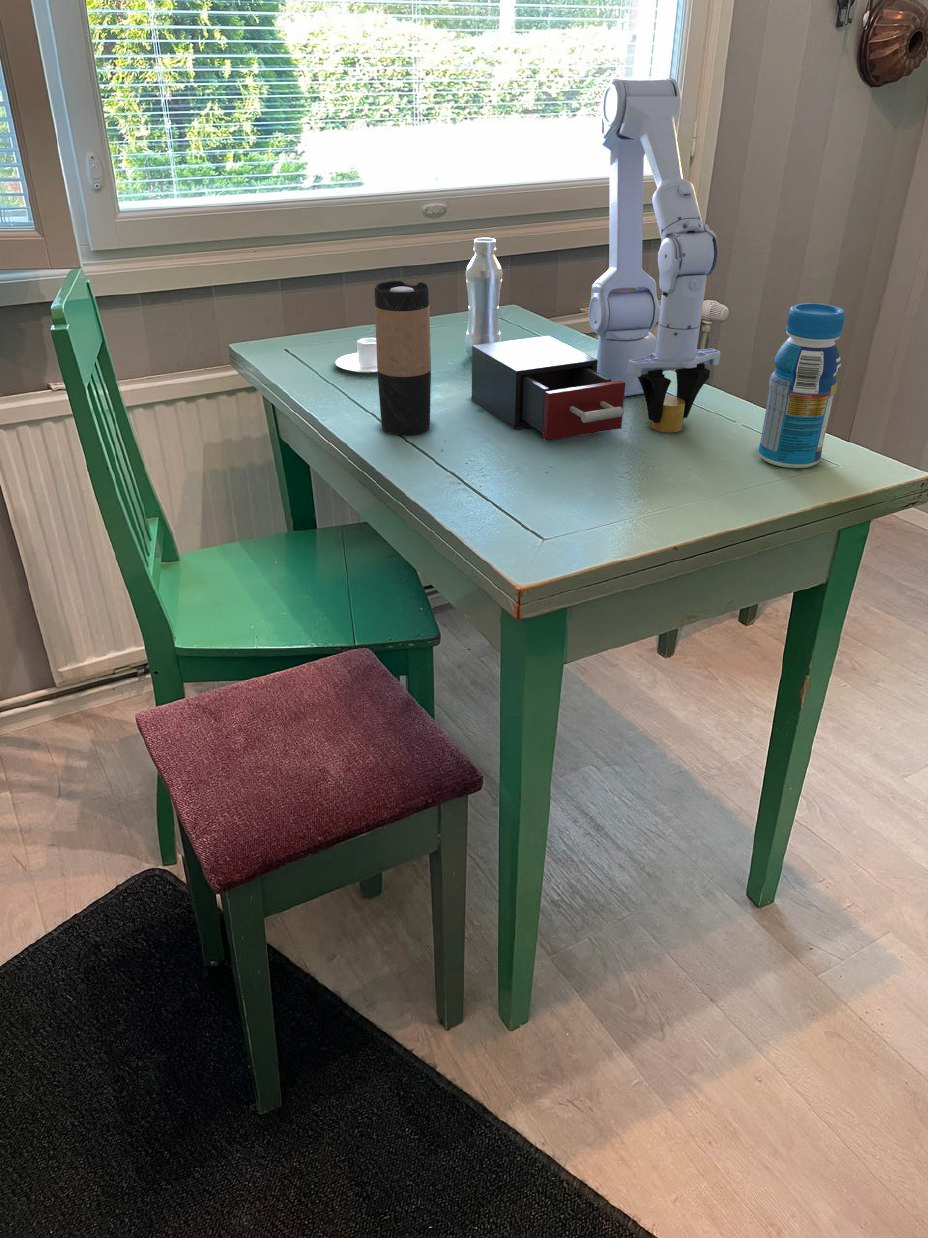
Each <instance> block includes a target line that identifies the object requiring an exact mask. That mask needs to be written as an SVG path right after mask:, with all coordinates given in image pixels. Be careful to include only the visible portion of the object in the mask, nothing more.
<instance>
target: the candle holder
mask: <svg viewBox="0 0 928 1238" xmlns="http://www.w3.org/2000/svg"><path fill="white" fill-rule="evenodd" d="M356 345H357V346H356V348H357V352H353V353H349V354H345V355H342V356H340V357H338V358H337V359H336V360H335V365H336V366H337V367H338V368H340V369H342V370H345V371H349V372H350V371H351V372H354V373H361V374H378V373H377V371H378V370H377V350H376V337H363V338H360V339H358V340H357V341H356Z"/></svg>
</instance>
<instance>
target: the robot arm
mask: <svg viewBox="0 0 928 1238" xmlns="http://www.w3.org/2000/svg"><path fill="white" fill-rule="evenodd" d="M681 111H682V91H681V88H680V86H679V83H678V81H677V80H676V79H675V78H672V77H671V78H670V77H669V78H666V79H620V78H612V79H611V80H610V82H609V83H608V84H607V86H606V87H605V90H604V93H603V95H602V99H601V102H600V135H601V145H602V146H604V147H605V148H606V149H608V150H609V240H608V241H609V249H608V250H609V253H608V254H609V257H608V258H609V259H608V260H609V264H608V269H607V270H606V272H604V273H603V274H602V275H601V276H600V277H599V278H597V279H596V280H595V281H594V282H593V283H592V285H591V293H590V301H589V305H588V322H589V325H590V328H591V330H593V332H594V333H595V334H596V335H598V336H597V348H596V359H597V360H598V363H597V372H598V373H600V374H602V375H604V376H606V377H607V378H609V379H611V382H612V381H619V380H622V381H624V382H625V393H624V397H630V396H637V395H643V396H644V399H645V404H646V410H647V411H646V412H647V419H648V420H649V421H651V422H652V421H653V422H655V423H659V422H660V420H661V417H662V411H663V404H664V399H665V396H667V393H668V390H669V387H670V385H671V383H672V379H670V378H667V377H665V373H664V372H668V371H674V370H675V374H676V375H675V376H676V396H675V397H677V398H680V399H683V400H684V401H685V409H684V416H683V419H687V418H688V417H689V415H690V412H691V409H692V407H693V404H694V402H695V400H696V398H697V397H698V394H699V392H700V391H701V389H702V388H703V386H704V385H705V383H706V382H707V381H708V380H709V379H710V375H711V370H710V369H708V368H706V366H709V365H711V366H718V365H720V358H721V350H717V349H714V348H712V347H710V348H699V349H698V345H699V338H700V337H699V336H700V329H701V322H702V315H703V307H704V301H705V293H706V286H707V277H710V276H711V275H712V274H713V273H714V272H715V270H716V268H717V266H718V263H719V262H718V261H719V253H720V250H719V249H720V248H719V243H718V242H719V241H718V237H717V235H716V233H715V232H714V231H713V230H712V229H710V227H709V225H708V224H707V223H703V219H702V214H701V210H700V207H699V202H698V199H697V194H696V191H695V186H694V183H692V182H691V181H689V180H688V179H685V178H684V176H683V170H682V164H681V163H682V162H681V155H680V150H679V144H678V136H677V131H676V130H677V129H676V128H677V125H678V123H679V121H680V120H679V119H680V116H681ZM645 156H646V160H647V163H648V165H649V168H650V171H651V174H652V177H653V179H654V182H655V185H656V190H655V191H654V193H653V195H652V198H651V203H652V207H653V211H654V216H655V220H656V224H657V227H658V233H659V236H660V241H661V243H660V246H659V250H658V252H657V266H658V273H659V278H658V279H659V280H658V284H659V290H661V298H660V301H659V299H658V292H657V281H656V280H655V279H654V278H653V277H652V276H651V275H650V274H649V273H647V272H646V271H645V270H644V268H643V228H644V225H643V224H644V169H645V168H644V162H645V161H644V160H645V159H644V158H645ZM631 288H634V289H636V290H624V291H623V290H622V291H614V290H616V289H631ZM659 302H660V303H659ZM657 323H658V326H657V332H656V336H655V335H654V334H653V333H652V332H650V331H652V330H653V329H654V328H655V326H656V325H657Z"/></svg>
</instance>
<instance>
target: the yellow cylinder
mask: <svg viewBox="0 0 928 1238" xmlns="http://www.w3.org/2000/svg"><path fill="white" fill-rule="evenodd" d="M684 409H685V401H684V400H683V399H680V398H677V397H676V396H669V395H666V396H665V399H664V404H663V411H662V417H661V420H660V422H659V423H655V422H653V421H651V428H652V429H653V430H655V431H657V432H660V433H669V434H671V433H679V432H680V431H682V429H683V423H684V418H683V416H684Z"/></svg>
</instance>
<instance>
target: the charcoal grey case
mask: <svg viewBox="0 0 928 1238" xmlns="http://www.w3.org/2000/svg"><path fill="white" fill-rule="evenodd" d="M597 363H598V360H597V358H596V357H593V356H591V355H589V354H586V353H585V352H582V351H580V350H579V349H576V348H575V347H573V346H570V345H568V344H566V343H564V342H562V341H560V340H558V339H556V338H554V337H552V336H550V335H544V336H543V335H542V336H536V337H527V338H520V339H513V340H512V339H511V340H505V341H501V342H495V343H487V344H479V345H472V358H471V401H473V402H474V403H476V404H477V405H479V406H480V407H481V408H483V409H484V410H486V411H488V413H491V414H492V415H493V416H495V417H496V418H498V419H499V420H501V421H502V422H504V423H505V424H506V425H508V426H510V427H511V428H513V429H515V430H517V429H522V428H528V427H532V426H531V425H530V424H528V423H527V422H525V421H524V420H522V419H521V418H519V417H520V390H521V376H523V375H530V374H537V373H544V372H551V371H558V370H565V369H572V368H580V367H588V368H590V369H592V370H594V371H596V372H597Z"/></svg>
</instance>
